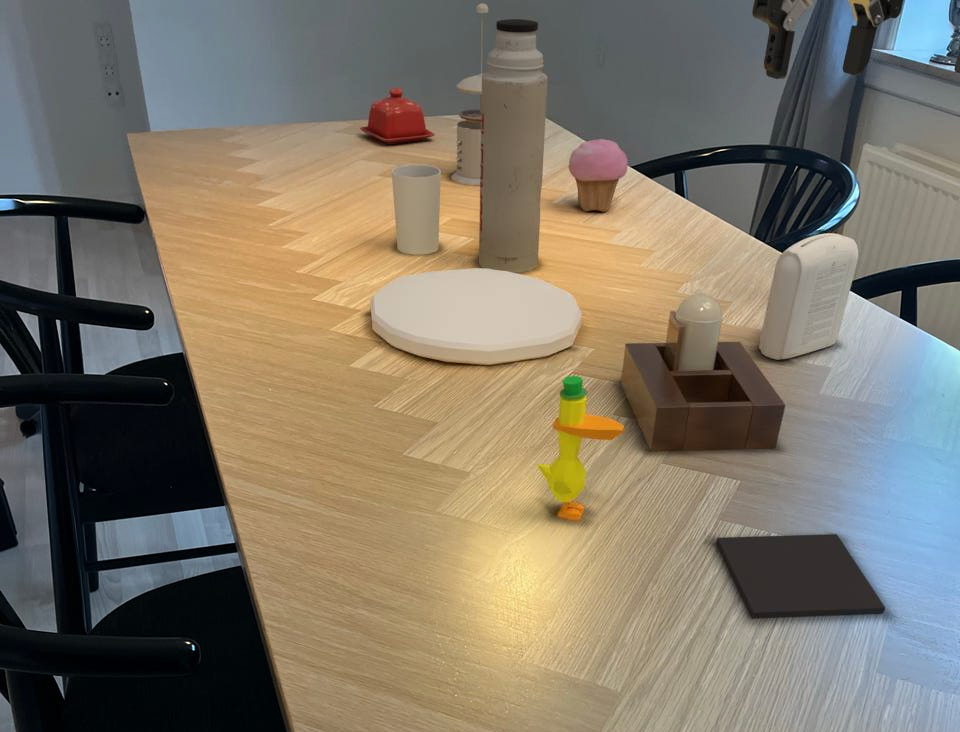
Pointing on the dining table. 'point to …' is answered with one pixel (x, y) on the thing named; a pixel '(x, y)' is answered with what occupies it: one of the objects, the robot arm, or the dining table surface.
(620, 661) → the dining table surface
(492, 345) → the decorative plate
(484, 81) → the thermos bottle
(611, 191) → the cupcake
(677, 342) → the dome-topped cream cylinder
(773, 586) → the mat
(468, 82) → the french press
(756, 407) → the box
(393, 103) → the butter dish
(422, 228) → the drinking glass
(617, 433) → the toy figure
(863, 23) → the robot arm
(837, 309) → the photo printer
